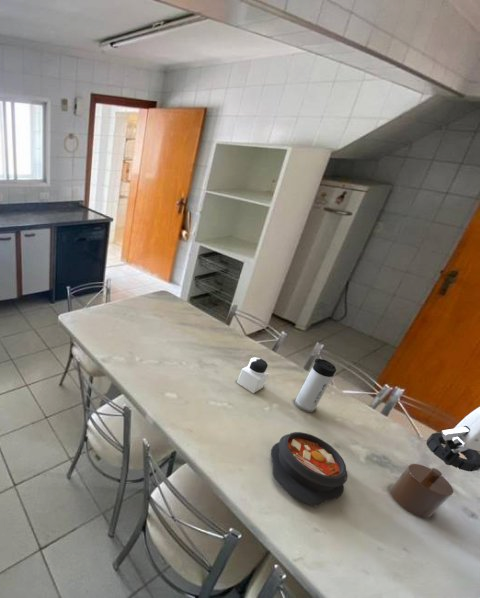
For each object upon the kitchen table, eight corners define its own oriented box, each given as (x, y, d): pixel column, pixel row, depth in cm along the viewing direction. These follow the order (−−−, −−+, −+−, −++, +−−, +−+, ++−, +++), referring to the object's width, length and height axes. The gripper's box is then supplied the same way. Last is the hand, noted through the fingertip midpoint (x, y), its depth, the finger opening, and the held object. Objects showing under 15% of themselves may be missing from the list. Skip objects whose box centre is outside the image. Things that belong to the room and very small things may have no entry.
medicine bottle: (263, 387, 129) (273, 363, 124) (253, 394, 125) (263, 369, 120) (246, 376, 134) (255, 353, 129) (236, 382, 130) (245, 358, 125)
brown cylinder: (418, 491, 94) (445, 462, 88) (439, 522, 86) (469, 492, 80) (383, 482, 96) (407, 452, 90) (400, 511, 88) (427, 481, 82)
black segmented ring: (460, 445, 85) (465, 438, 84) (487, 476, 77) (494, 470, 76) (418, 434, 87) (423, 428, 86) (441, 464, 79) (447, 457, 78)
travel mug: (294, 397, 126) (315, 355, 116) (314, 405, 122) (337, 362, 113) (292, 406, 121) (314, 363, 112) (313, 415, 118) (337, 372, 109)
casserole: (328, 527, 83) (343, 508, 79) (254, 474, 95) (264, 455, 91) (350, 469, 99) (363, 451, 95) (284, 430, 111) (293, 412, 107)
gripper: (549, 410, 72) (496, 463, 80) (455, 390, 75) (412, 442, 84) (586, 437, 65) (523, 491, 73) (480, 414, 69) (432, 468, 77)
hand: (465, 465), depth 78 cm, fingers closed on black segmented ring, 7 cm apart
